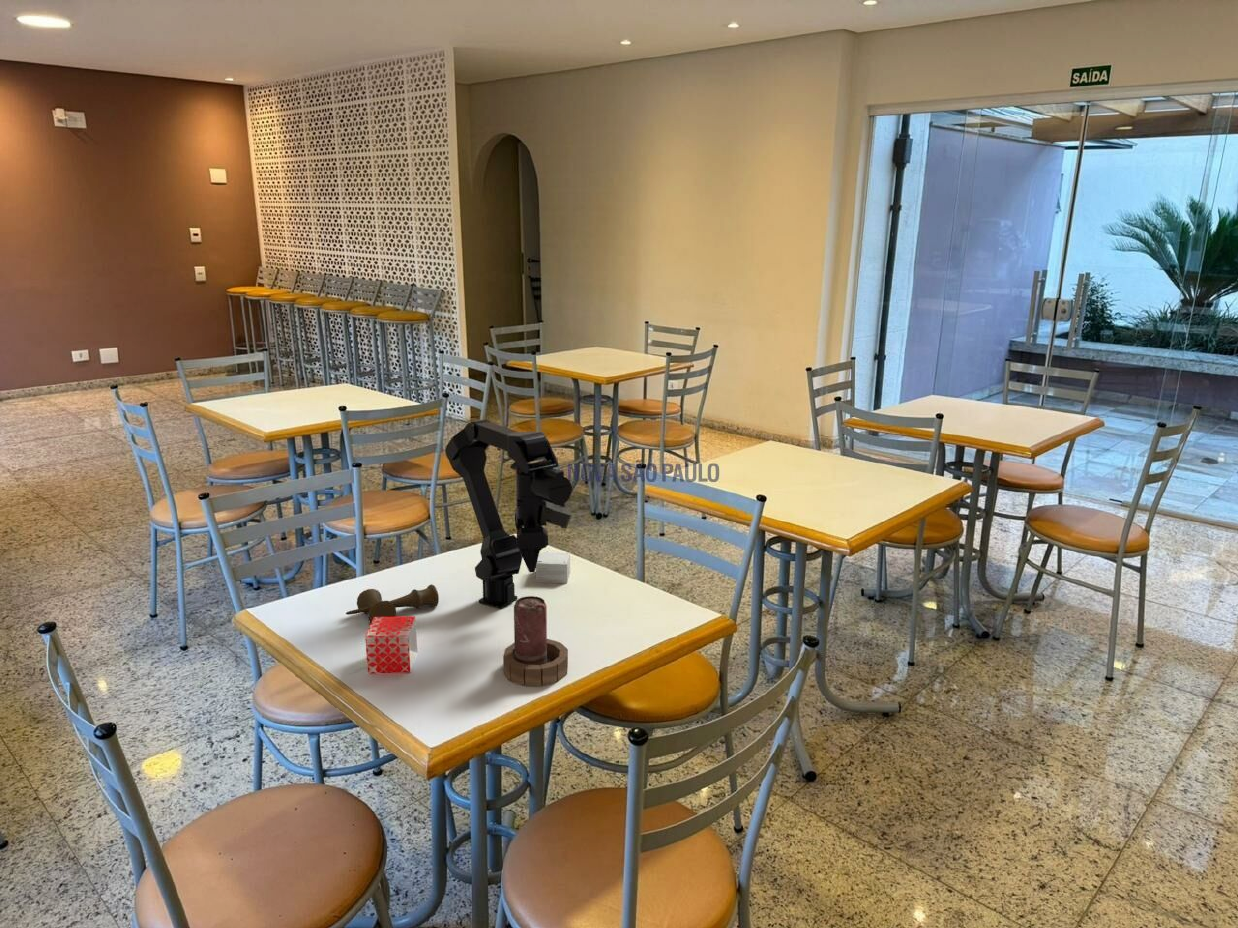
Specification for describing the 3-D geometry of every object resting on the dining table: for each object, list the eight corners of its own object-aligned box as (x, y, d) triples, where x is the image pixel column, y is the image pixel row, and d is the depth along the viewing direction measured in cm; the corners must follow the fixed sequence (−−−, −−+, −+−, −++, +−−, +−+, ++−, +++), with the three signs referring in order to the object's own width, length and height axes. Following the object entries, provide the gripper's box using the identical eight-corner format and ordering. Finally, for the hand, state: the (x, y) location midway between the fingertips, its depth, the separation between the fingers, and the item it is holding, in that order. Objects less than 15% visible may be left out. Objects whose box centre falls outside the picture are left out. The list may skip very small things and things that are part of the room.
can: (543, 679, 152) (542, 610, 148) (510, 675, 153) (509, 606, 150) (552, 663, 158) (551, 596, 154) (520, 659, 159) (519, 593, 155)
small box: (570, 571, 203) (570, 552, 201) (567, 584, 195) (567, 564, 194) (539, 570, 203) (539, 551, 202) (535, 582, 195) (534, 562, 194)
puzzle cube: (376, 653, 161) (374, 616, 158) (417, 652, 161) (415, 616, 159) (367, 674, 153) (365, 635, 151) (410, 673, 153) (408, 635, 151)
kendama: (444, 615, 179) (353, 635, 168) (428, 600, 187) (339, 618, 175) (444, 589, 177) (352, 608, 166) (427, 575, 185) (338, 592, 174)
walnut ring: (491, 675, 153) (490, 658, 152) (528, 648, 163) (528, 632, 162) (544, 692, 148) (544, 675, 147) (579, 664, 158) (579, 647, 157)
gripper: (573, 506, 161) (573, 579, 165) (565, 479, 179) (565, 546, 183) (516, 507, 159) (517, 581, 163) (513, 480, 177) (514, 548, 181)
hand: (530, 563), depth 172 cm, fingers open, 9 cm apart
